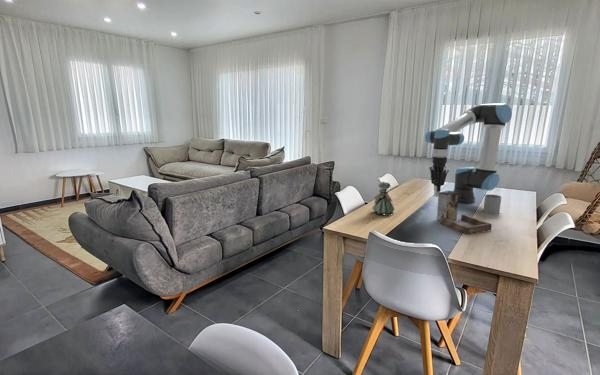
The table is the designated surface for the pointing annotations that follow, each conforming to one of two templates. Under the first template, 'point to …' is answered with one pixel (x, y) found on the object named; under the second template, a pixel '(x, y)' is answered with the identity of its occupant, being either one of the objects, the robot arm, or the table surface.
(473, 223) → the cradle
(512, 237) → the table surface
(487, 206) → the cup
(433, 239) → the table surface
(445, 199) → the coffee box
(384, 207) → the figurine
